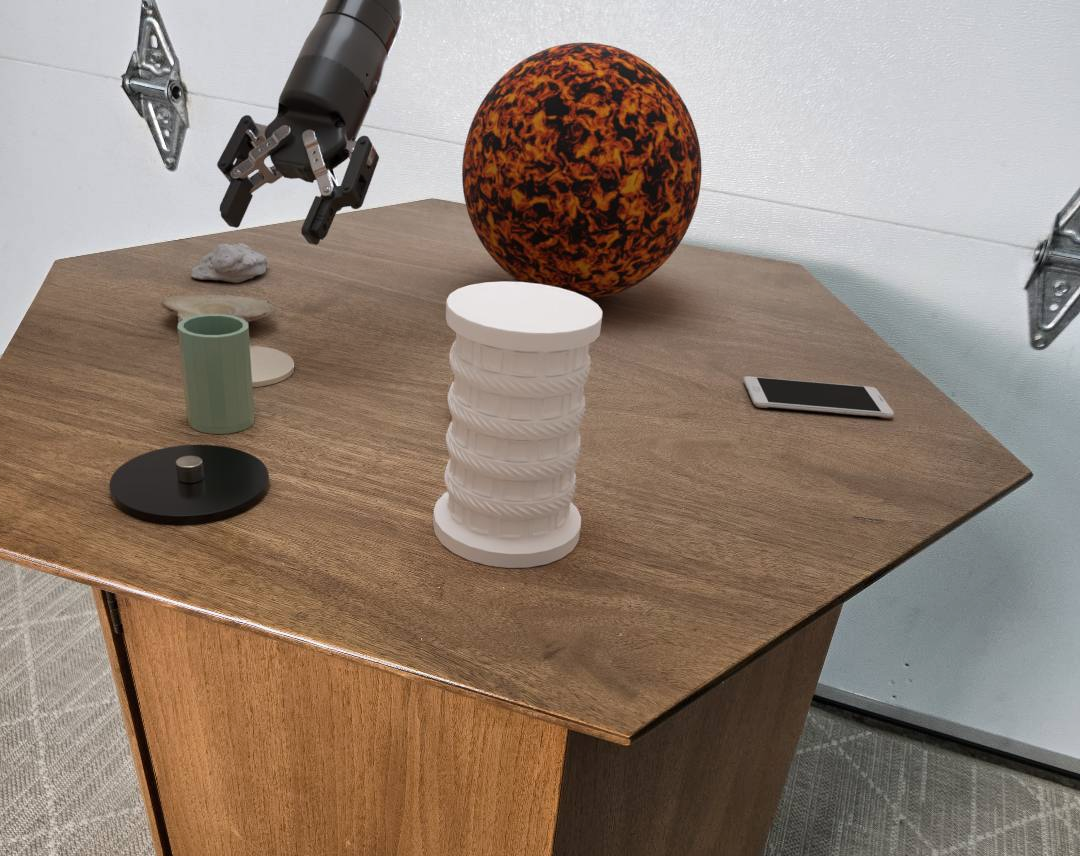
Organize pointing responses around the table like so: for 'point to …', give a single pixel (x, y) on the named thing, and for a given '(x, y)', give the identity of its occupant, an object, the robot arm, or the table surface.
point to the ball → (582, 169)
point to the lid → (189, 484)
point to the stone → (230, 264)
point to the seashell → (217, 306)
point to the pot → (217, 373)
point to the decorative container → (515, 422)
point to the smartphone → (817, 397)
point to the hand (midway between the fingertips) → (268, 230)
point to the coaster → (269, 366)
